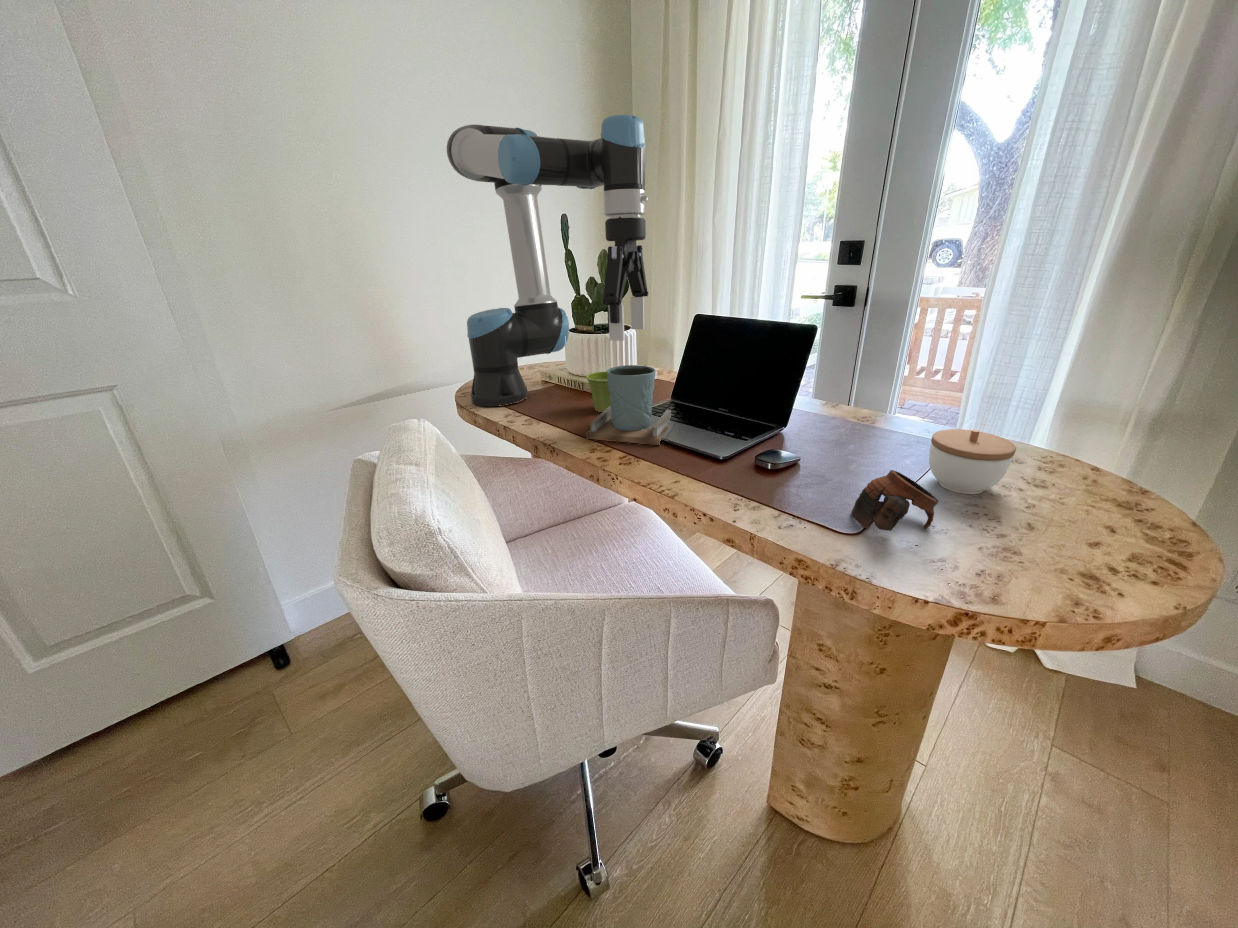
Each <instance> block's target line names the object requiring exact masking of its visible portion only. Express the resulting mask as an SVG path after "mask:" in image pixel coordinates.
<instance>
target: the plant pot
mask: <svg viewBox="0 0 1238 928" xmlns="http://www.w3.org/2000/svg"><path fill="white" fill-rule="evenodd" d="M585 378H586V380H587V382H588V385H589V386H590V391H591V395H592V396H591V397H592V403H593V407H594V408H595V409H597V410H600V411H605V410H606V409H607V408H608V407H609V406H610V398H609V397H610V393H609V388H608V379H607V370H606V371H598V372H597V371H595V372H590V373H589V374H586V376H585ZM595 409H594V410H595Z"/></svg>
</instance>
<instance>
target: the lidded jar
mask: <svg viewBox="0 0 1238 928" xmlns="http://www.w3.org/2000/svg"><path fill="white" fill-rule="evenodd" d="M930 442H931V444H930V448H929V453H928V454H929V456H928V463H929V464H928V465H929V468H930V471H931V473H932V475H933V476H934V478H935V480H936V481H937V482H938V484H939V486H940V487H942V488H944V490H945V489H946V490H948V491H950V492H953V493H958V494H963V495H979V494H982V493H983V492H984V491H986V490H988V489H990V488H992V487H995V486H996V485H997V484H999V482H1000V481H1002V479H1003V478H1004V477H1005V475H1006V473H1007V472H1008V470H1009V469H1010V466H1011V462H1012V461H1013V460H1012V459H1013V457H1014V455H1015V454H1016V451H1017V447H1016V445H1015V444H1014V443H1013V442H1012V441H1010V440H1008V439H1007V438H1004V437H1001V436H998V435H996V434H992V433H987V432H983V431H980V430H978V429H961V428H959V429H958V428H957V429H956V428H954V429H953V428H952V429H943V430H939V431H936V432H934V433H933V434H932V436H931V441H930Z"/></svg>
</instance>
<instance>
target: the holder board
mask: <svg viewBox="0 0 1238 928" xmlns="http://www.w3.org/2000/svg"><path fill="white" fill-rule="evenodd" d="M611 410H612V409H611V407H610V406H609V407H608V408H607V409H606V410H605V411H603V412H602V413H600V414H599V415H598V416H596V417H595V418H594V419H593V420H592V421H591V422H589V425H590V428H589V430H587V431H586V432H585V439H606V440H607V439H608V440H616V441H629V442H636V443H644V444H651V445H650V446H652V445H660V441H661V438H662V436H663V435H664V433H665V432H666V430H667V429H668V427H665V426H666V425H667V423H668V422H669V420H670V418H671V417H672V410H671V409H666V410H665V411H664V412H663V414H662V415H660V416H661V418H660V419H659V420H658V421H657V423H656V424H655V425H653V427H652V428H651V429H649V428H646V430H647V432H645V431H641V430H637V431H623V430H618V429H616V428H614V427H613V425H612V418H611ZM660 446H661V445H660Z"/></svg>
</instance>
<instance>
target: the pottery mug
mask: <svg viewBox="0 0 1238 928" xmlns="http://www.w3.org/2000/svg"><path fill="white" fill-rule="evenodd" d="M882 496H883V497H884V498H883V501H880V499H881V497H882ZM910 501H911V503H910ZM938 504H939V499H937V498H936V496H935V495H933V494H932V493H931V492H930V491H928V490H927V489H926V488H924V487H923V486H921V485H920V484H919V483H917V482H915V480H913V479H912V478H909V477H908V476H907V475H904V474H902V473H901V472H899V471H896V470H894V469H890V470H889V472H888V473H887V474H886V475H884V476H879V477H876V478H875V479H873V480H871V481H870V482H868V483H867V485H866V486H865V487H864V488H863V489H862V491H861V492H860V494H859V497H857V499H856V500H855V503H854V504H853V505H854V506H853V508H852V510H851V514H852V516H853V517H852V518H854V519H855V520H856V522H857V523H858V524H860V525H861V526H862V527H863V528H865V530H866V529H867V530H869V528H870V527H871V524H872V523H873V522H874V523H873V524H874V525H875V526H876V528H877V529H879V530H881V531H889V532H890V531H891V532H892V531H893V530H894V528H895V527H896V526H897V525H898V523H899V521H901V520H902V519H903V518H904V517H905V515H907V514H908V513H909V511H910V510H909V509H910V506H911V505H912V506H915V507H917V508H919V509H920V510H923V511H924V512H925V515H926V518H927V520H926V522H925V524H924V525H923V529H924V530H928V529H929V527H930V526H932V522H933V521H934V517H935V506H937V505H938Z"/></svg>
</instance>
